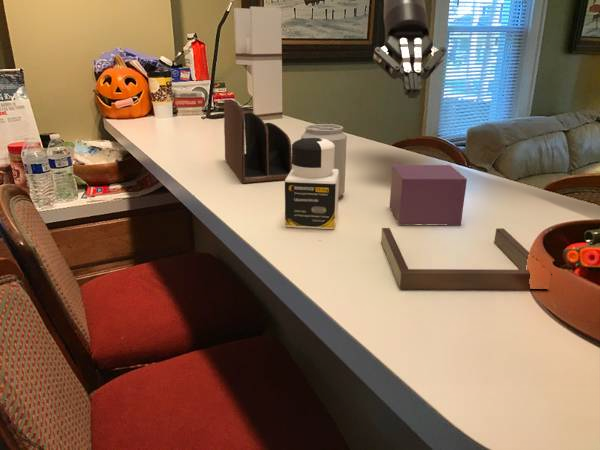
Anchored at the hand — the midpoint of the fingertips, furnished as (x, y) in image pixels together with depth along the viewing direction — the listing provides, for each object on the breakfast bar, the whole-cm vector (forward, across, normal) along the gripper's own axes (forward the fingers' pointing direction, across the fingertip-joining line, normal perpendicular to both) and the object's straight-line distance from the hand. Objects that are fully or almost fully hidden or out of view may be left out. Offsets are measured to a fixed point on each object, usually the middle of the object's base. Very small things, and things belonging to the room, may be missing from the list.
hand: (413, 95), depth 79 cm
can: (+14, -15, +9) cm, 23 cm away
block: (+21, 0, +2) cm, 21 cm away
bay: (+33, 0, -10) cm, 34 cm away
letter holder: (+2, -28, +22) cm, 36 cm away
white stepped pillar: (-49, -34, +73) cm, 94 cm away
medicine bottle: (+23, -17, +1) cm, 29 cm away
